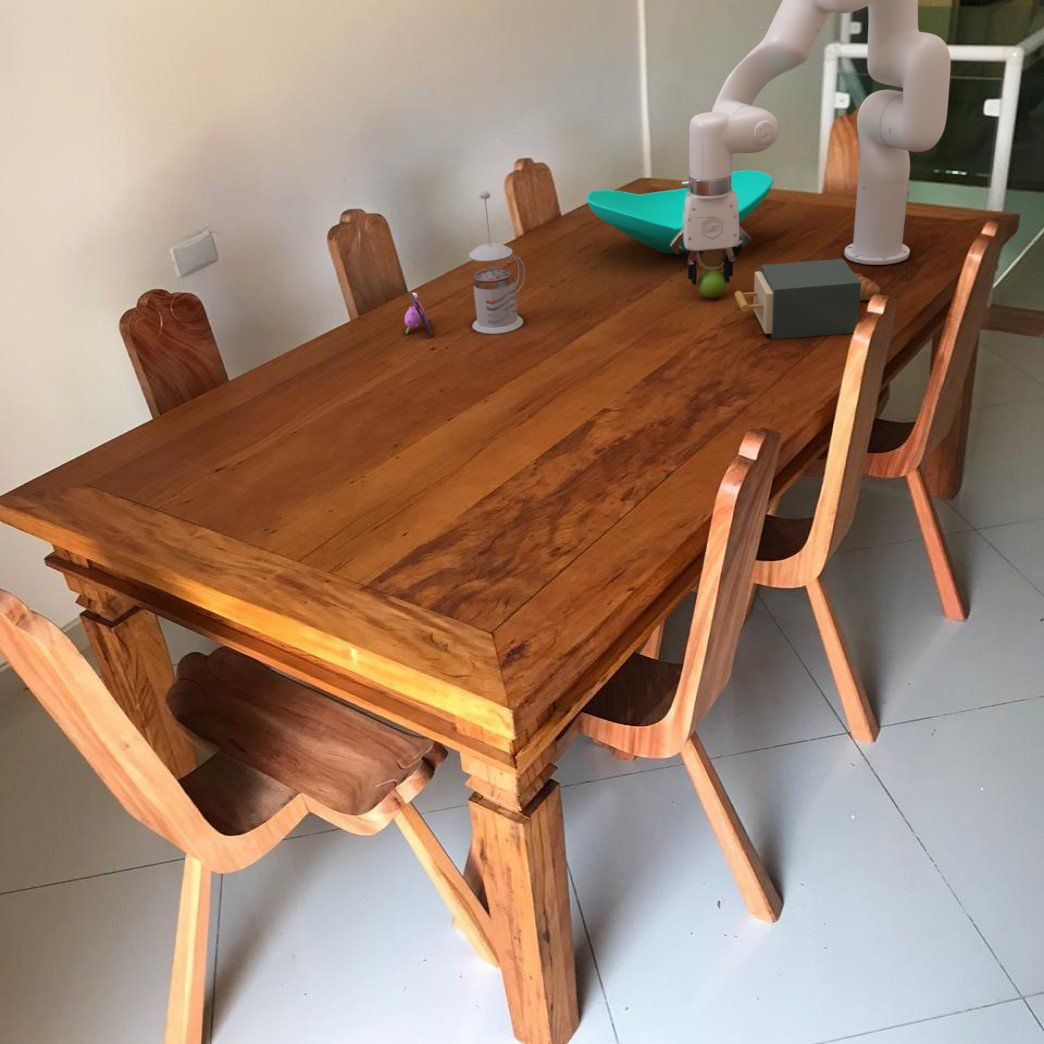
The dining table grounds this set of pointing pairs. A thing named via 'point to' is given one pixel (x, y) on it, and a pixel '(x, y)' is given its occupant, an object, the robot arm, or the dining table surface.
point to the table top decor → (669, 209)
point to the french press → (498, 314)
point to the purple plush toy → (415, 315)
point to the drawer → (759, 301)
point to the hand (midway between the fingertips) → (710, 280)
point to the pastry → (867, 288)
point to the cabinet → (813, 298)
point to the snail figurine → (711, 273)
